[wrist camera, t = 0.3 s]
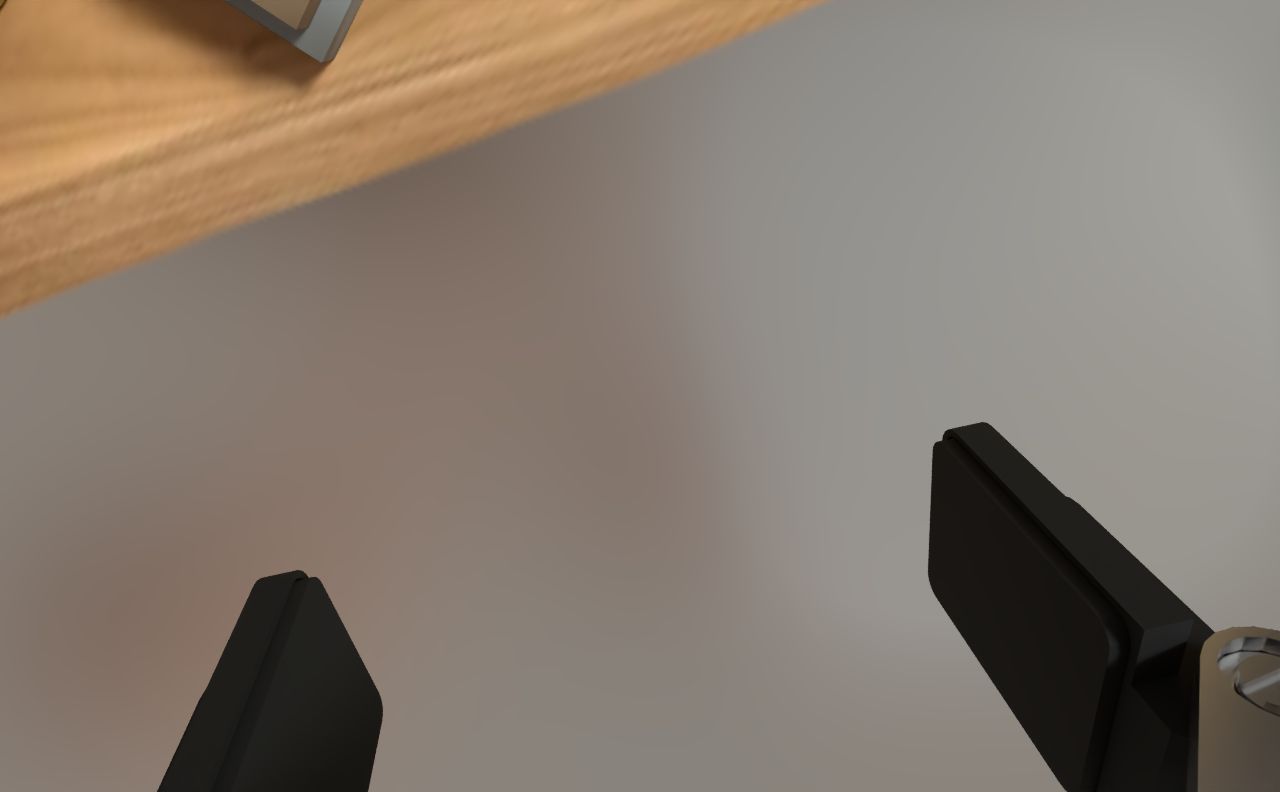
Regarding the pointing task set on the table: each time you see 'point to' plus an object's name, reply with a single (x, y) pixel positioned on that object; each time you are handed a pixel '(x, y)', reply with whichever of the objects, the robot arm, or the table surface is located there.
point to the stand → (305, 22)
